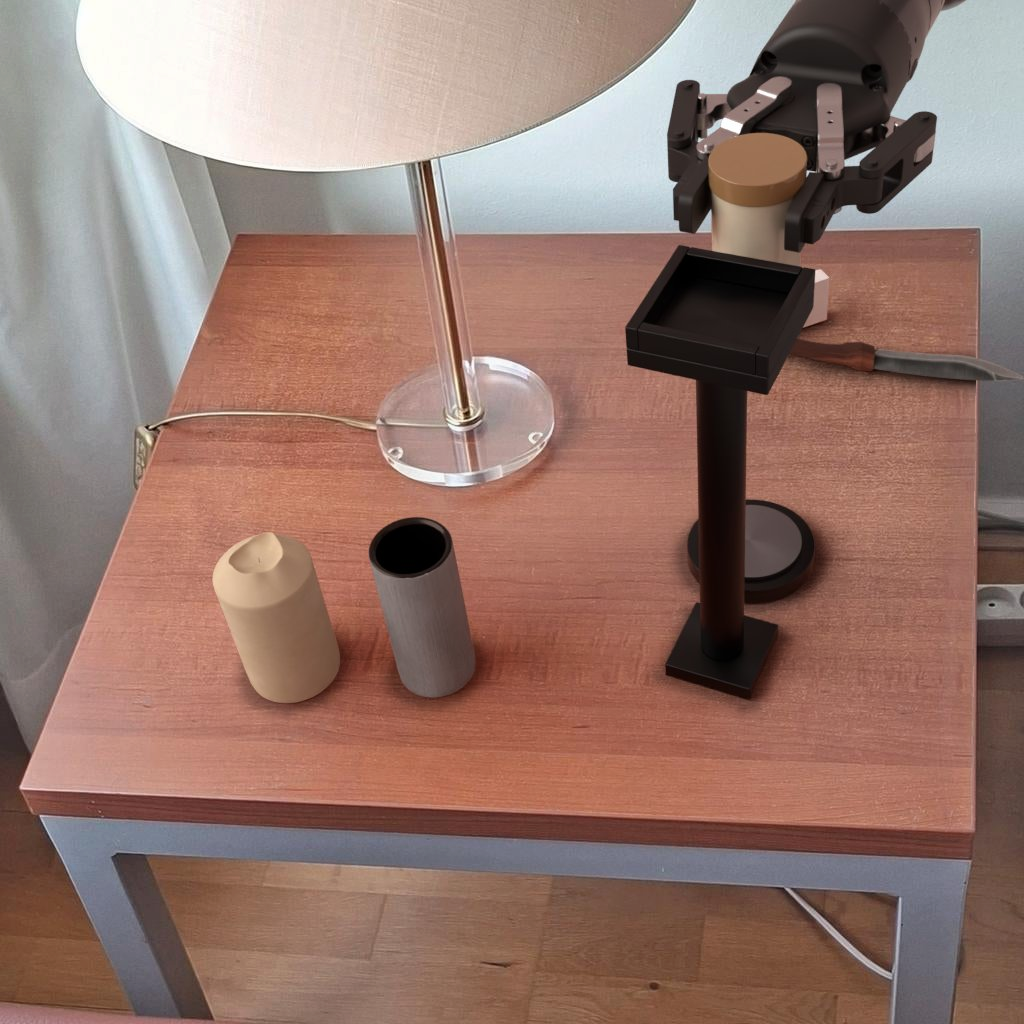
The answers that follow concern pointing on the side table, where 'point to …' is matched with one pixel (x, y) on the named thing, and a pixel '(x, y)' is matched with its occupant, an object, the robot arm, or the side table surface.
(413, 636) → the planter
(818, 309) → the eraser
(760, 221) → the spice jar
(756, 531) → the plate
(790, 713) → the side table surface
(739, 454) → the stand
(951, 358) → the knife
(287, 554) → the candle
